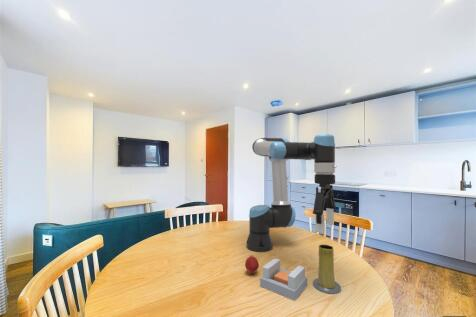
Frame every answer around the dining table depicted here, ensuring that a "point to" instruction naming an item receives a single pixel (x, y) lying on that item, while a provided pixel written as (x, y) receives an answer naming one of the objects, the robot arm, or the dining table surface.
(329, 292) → the coaster
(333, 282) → the vase
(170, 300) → the dining table surface
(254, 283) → the dining table surface
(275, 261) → the grey cradle holder
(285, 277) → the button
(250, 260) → the onion
